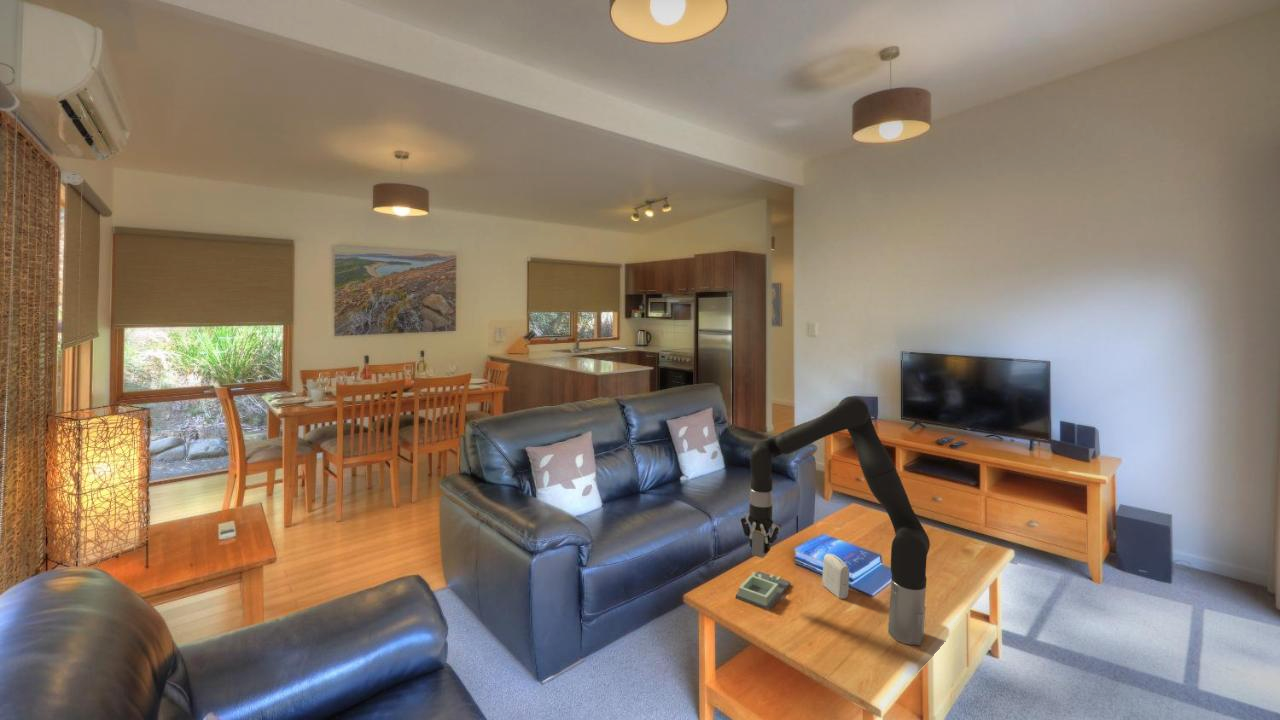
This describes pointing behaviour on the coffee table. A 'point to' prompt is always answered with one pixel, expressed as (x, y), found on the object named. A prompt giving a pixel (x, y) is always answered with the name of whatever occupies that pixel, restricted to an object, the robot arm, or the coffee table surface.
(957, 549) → the coffee table surface
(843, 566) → the photo printer
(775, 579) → the board
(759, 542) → the block
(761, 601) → the end holder
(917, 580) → the robot arm
